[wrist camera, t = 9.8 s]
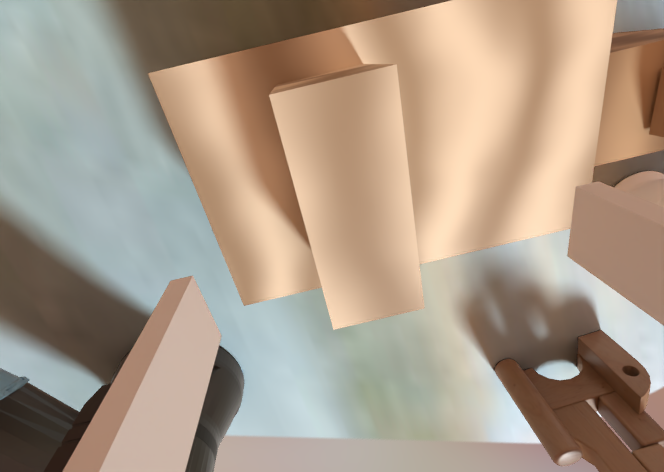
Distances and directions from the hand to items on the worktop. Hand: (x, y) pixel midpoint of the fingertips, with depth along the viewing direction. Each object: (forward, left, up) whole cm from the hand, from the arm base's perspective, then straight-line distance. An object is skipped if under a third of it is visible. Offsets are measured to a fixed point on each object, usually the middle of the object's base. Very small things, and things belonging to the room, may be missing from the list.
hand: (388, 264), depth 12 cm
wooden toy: (+24, -37, -23) cm, 50 cm away
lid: (+4, 0, -13) cm, 13 cm away
